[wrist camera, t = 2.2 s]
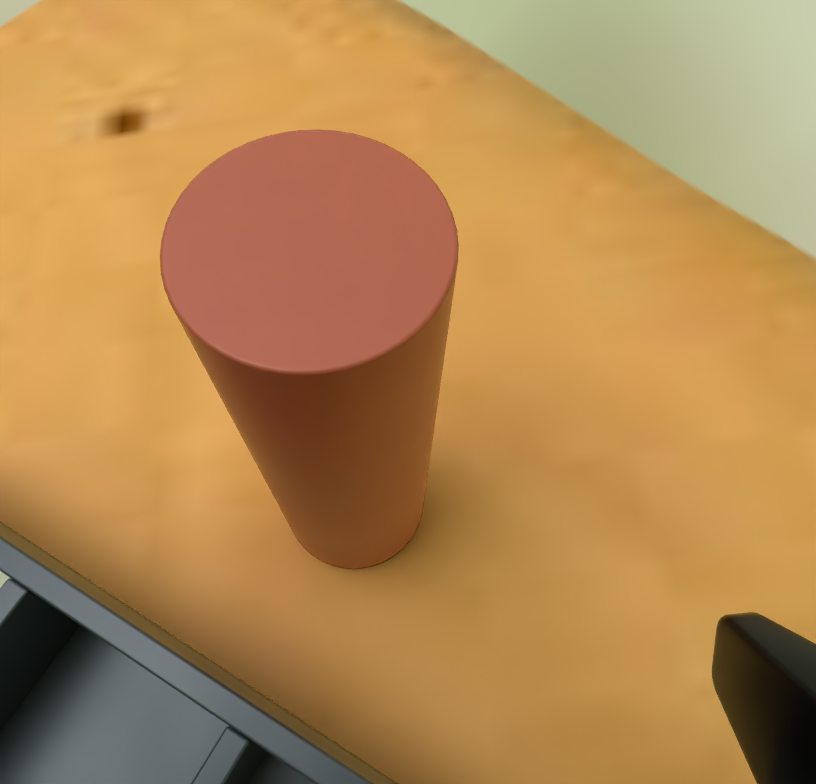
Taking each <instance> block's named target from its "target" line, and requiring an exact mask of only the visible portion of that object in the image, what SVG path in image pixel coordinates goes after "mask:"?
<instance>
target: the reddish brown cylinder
mask: <svg viewBox="0 0 816 784" xmlns="http://www.w3.org/2000/svg"><path fill="white" fill-rule="evenodd" d="M458 246H459V244H458V236H457V228H456V225H455V221H454V217H453V214H452V212H451V209H450V207H449V205H448V203H447V201H446V199H445V197H444V195H443V194H442V192H441V191H440V189H439V188H438V186H437V185H436V183H435V182H434V181H433V180H432V179H431V178H430V176H429V175H428V174H427V173H426V172H425V171H424V170H423V169H422V168H421V167H419V166H418V165H417V164H416V163H415V162H414V161H412V160H411V159H409V158H408V157H407V156H405V155H404V154H402V153H401V152H399V151H397V150H395V149H393V148H391V147H389V146H388V145H386V144H383V143H381V142H378V141H375V140H373V139H370V138H367V137H363V136H360V135H356V134H352V133H346V132H340V131H331V130H299V131H291V132H284V133H279V134H275V135H270V136H266V137H263V138H260V139H257V140H254V141H251V142H248V143H246V144H244V145H242V146H240V147H238V148H235V149H233V150H231V151H230V152H228V153H226V154H225V155H223V156H221V157H220V158H218V159H217V160H215V161H214V162H213V163H211V164H210V165H209V166H207V167H206V168H205V169H203V170H202V171H201V172H200V173H199V174H198V175H197V176H196V177H195V178H194V179H193V180H192V181H191V182H190V184H189V185H188V186H187V187H186V189H185V190H184V191H183V192H182V193H181V195H180V197H179V198H178V200H177V201H176V203H175V205H174V206H173V208H172V210H171V213H170V215H169V217H168V220H167V222H166V225H165V229H164V233H163V237H162V241H161V251H160V267H161V276H162V280H163V284H164V289H165V292H166V294H167V296H168V299H169V301H170V304H171V306H172V308H173V310H174V311H175V313H176V315H177V317H178V319H179V321H180V323H181V324H182V326H183V328H184V330H185V332H186V334H187V336H188V337H189V339H190V341H191V343H192V345H193V347H194V349H195V350H196V352H197V354H198V356H199V358H200V360H201V362H202V363H203V365H204V367H205V369H206V371H207V373H208V375H209V376H210V378H211V380H212V382H213V384H214V386H215V388H216V389H217V391H218V393H219V395H220V397H221V399H222V401H223V402H224V404H225V406H226V408H227V410H228V412H229V414H230V415H231V417H232V419H233V421H234V423H235V425H236V427H237V428H238V430H239V432H240V434H241V436H242V438H243V440H244V442H245V443H246V445H247V447H248V449H249V451H250V453H251V455H252V456H253V458H254V460H255V462H256V464H257V466H258V468H259V469H260V471H261V473H262V475H263V477H264V479H265V481H266V482H267V484H268V486H269V488H270V490H271V492H272V494H273V495H274V497H275V499H276V501H277V503H278V505H279V507H280V508H281V510H282V512H283V514H284V516H285V518H286V520H287V521H288V523H289V525H290V527H291V529H292V531H293V533H294V534H295V536H296V538H297V539H298V541H299V542H300V543H301V544H302V546H303V547H304V548H305V549H306V550H307V551H308V552H309V553H310V554H312V555H313V556H315V557H316V558H318V559H319V560H321V561H323V562H325V563H328V564H331V565H333V566H337V567H342V568H364V567H369V566H373V565H376V564H379V563H381V562H383V561H386V560H388V559H389V558H391V557H392V556H394V555H395V554H397V553H398V552H399V551H400V550H401V549H402V548H403V547H404V546H405V545H406V544H407V543H408V542H409V541H410V539H411V538H412V536H413V535H414V533H415V531H416V529H417V527H418V525H419V522H420V519H421V515H422V510H423V503H424V496H425V489H426V482H427V475H428V468H429V461H430V454H431V446H432V439H433V432H434V425H435V418H436V411H437V404H438V397H439V390H440V383H441V376H442V369H443V362H444V355H445V348H446V341H447V334H448V327H449V320H450V312H451V305H452V298H453V291H454V284H455V277H456V270H457V263H458Z"/></svg>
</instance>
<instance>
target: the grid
mask: <svg viewBox="0 0 816 784" xmlns="http://www.w3.org/2000/svg"><path fill="white" fill-rule="evenodd" d="M0 784H397V783H396V782H394V781H393V780H391V779H389V778H388V777H386V776H385V775H383V774H382V773H380V772H379V771H377V770H376V769H374V768H373V767H371V766H370V765H368V764H367V763H365V762H364V761H362V760H361V759H359V758H358V757H356V756H355V755H353V754H352V753H350V752H349V751H347V750H345V749H344V748H342V747H341V746H339V745H338V744H336V743H335V742H333V741H332V740H330V739H329V738H327V737H326V736H324V735H323V734H321V733H320V732H318V731H317V730H315V729H314V728H312V727H311V726H309V725H308V724H306V723H305V722H303V721H301V720H300V719H298V718H297V717H295V716H294V715H292V714H291V713H289V712H288V711H286V710H285V709H283V708H282V707H280V706H279V705H277V704H276V703H274V702H273V701H271V700H270V699H268V698H267V697H265V696H264V695H262V694H261V693H259V692H257V691H256V690H254V689H253V688H251V687H250V686H248V685H247V684H245V683H244V682H242V681H241V680H239V679H238V678H236V677H235V676H233V675H232V674H230V673H229V672H227V671H226V670H224V669H223V668H221V667H220V666H218V665H217V664H215V663H213V662H212V661H210V660H209V659H207V658H206V657H204V656H203V655H201V654H200V653H198V652H197V651H195V650H194V649H192V648H191V647H189V646H188V645H186V644H185V643H183V642H182V641H180V640H179V639H177V638H176V637H174V636H173V635H171V634H169V633H168V632H166V631H165V630H163V629H162V628H160V627H159V626H157V625H156V624H154V623H153V622H151V621H150V620H148V619H147V618H145V617H144V616H142V615H141V614H139V613H138V612H136V611H135V610H133V609H132V608H130V607H129V606H127V605H125V604H124V603H122V602H121V601H119V600H118V599H116V598H115V597H113V596H112V595H110V594H109V593H107V592H106V591H104V590H103V589H101V588H100V587H98V586H97V585H95V584H94V583H92V582H91V581H89V580H88V579H86V578H85V577H83V576H81V575H80V574H78V573H77V572H75V571H74V570H72V569H71V568H69V567H68V566H66V565H65V564H63V563H62V562H60V561H59V560H57V559H56V558H54V557H53V556H51V555H50V554H48V553H47V552H45V551H44V550H42V549H41V548H39V547H37V546H36V545H34V544H33V543H31V542H30V541H28V540H27V539H25V538H24V537H22V536H21V535H19V534H18V533H16V532H15V531H13V530H12V529H10V528H9V527H7V526H6V525H4V524H3V523H1V522H0Z"/></svg>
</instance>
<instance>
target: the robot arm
mask: <svg viewBox="0 0 816 784" xmlns="http://www.w3.org/2000/svg"><path fill="white" fill-rule="evenodd" d="M712 678H713V684H714V687H715V690H716V693H717V695H718V697H719V700H720V702H721V704H722V706H723V708H724V711H725V713H726V715H727V717H728V720H729V722H730V724H731V726H732V729H733V731H734V733H735V735H736V738H737V740H738V742H739V744H740V747H741V749H742V751H743V753H744V756H745V758H746V760H747V762H748V764H749V767H750V769H751V771H752V773H753V776H754V778H755V780H756V782H757V784H816V644H815V643H813V642H811V641H809V640H807V639H805V638H804V637H802V636H800V635H798V634H796V633H794V632H792V631H790V630H789V629H787V628H785V627H783V626H781V625H779V624H777V623H775V622H774V621H772V620H770V619H768V618H766V617H764V616H762V615H760V614H758V613H753V612H748V613H739V614H730V615H725V616H723V617H721V618H720V620H719V622H718V624H717V630H716V638H715V647H714V655H713V664H712Z"/></svg>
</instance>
